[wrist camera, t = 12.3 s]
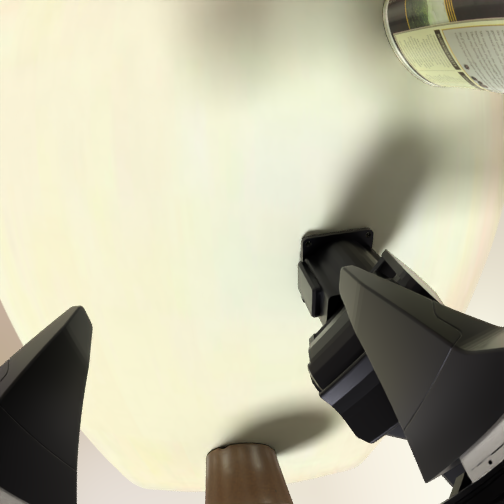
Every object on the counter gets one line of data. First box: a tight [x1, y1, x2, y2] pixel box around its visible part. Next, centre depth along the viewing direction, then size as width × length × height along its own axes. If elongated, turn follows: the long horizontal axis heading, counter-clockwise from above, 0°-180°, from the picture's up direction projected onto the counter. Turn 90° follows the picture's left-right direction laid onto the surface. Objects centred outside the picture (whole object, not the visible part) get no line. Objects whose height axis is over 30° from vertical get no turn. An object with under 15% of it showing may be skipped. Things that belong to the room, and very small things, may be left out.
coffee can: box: [383, 0, 504, 93], centre depth 10 cm, size 10×10×14 cm
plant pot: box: [205, 443, 293, 504], centre depth 35 cm, size 16×16×16 cm
